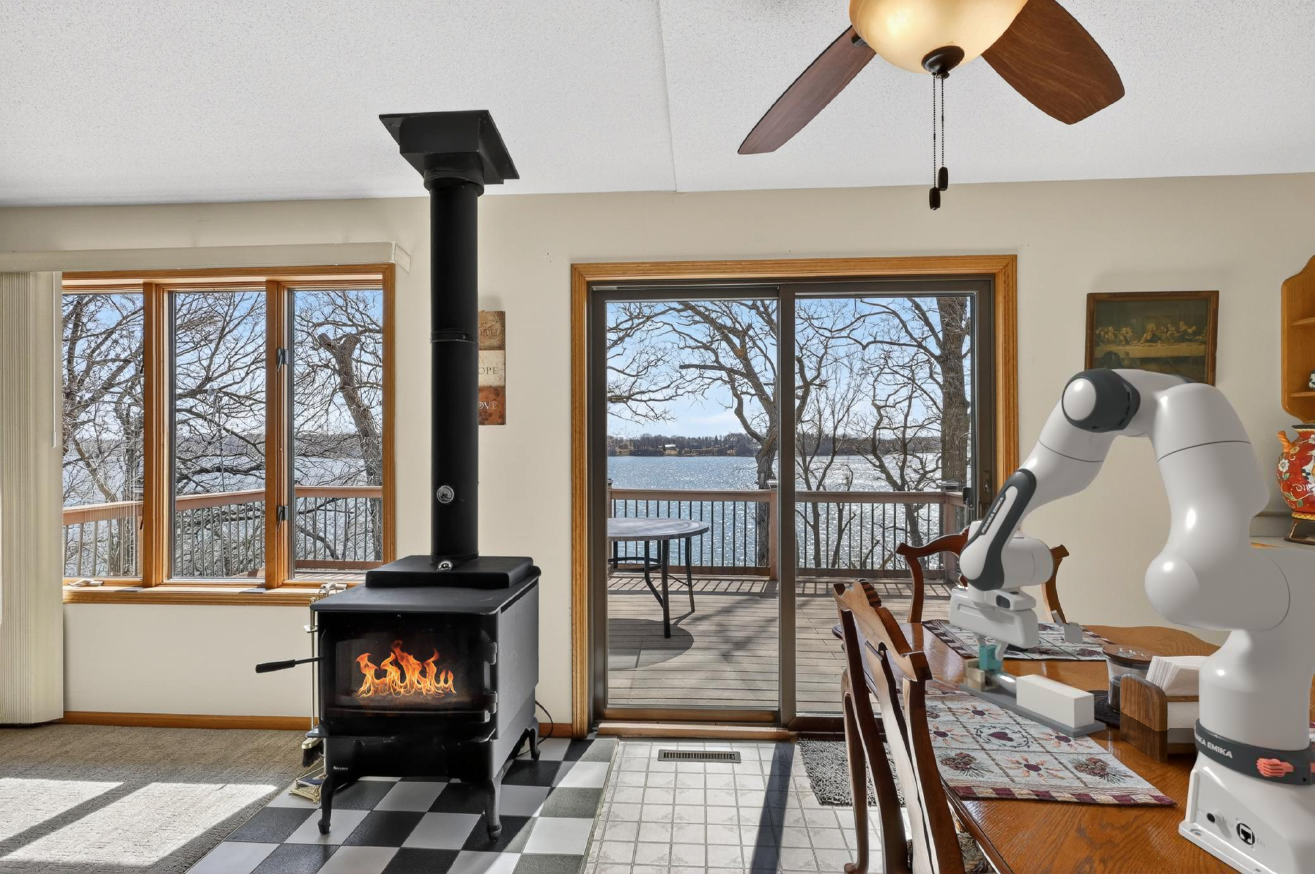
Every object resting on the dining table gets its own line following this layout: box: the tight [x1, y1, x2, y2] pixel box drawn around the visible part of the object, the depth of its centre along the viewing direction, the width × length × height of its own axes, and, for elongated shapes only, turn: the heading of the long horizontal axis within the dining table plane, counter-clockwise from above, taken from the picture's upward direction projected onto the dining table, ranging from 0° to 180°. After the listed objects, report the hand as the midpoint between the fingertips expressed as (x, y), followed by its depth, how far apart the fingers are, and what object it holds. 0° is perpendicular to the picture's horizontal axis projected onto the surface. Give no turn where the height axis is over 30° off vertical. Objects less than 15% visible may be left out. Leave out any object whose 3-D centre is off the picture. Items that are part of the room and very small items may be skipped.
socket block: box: [962, 657, 1005, 691], centre depth 143 cm, size 4×7×5 cm, turn 112°
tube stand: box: [957, 673, 1107, 738], centre depth 133 cm, size 26×9×6 cm, turn 22°
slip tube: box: [977, 643, 1018, 694], centre depth 136 cm, size 15×4×8 cm, turn 22°
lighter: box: [1050, 609, 1084, 644], centre depth 178 cm, size 7×2×8 cm, turn 63°
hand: (990, 657), depth 141 cm, fingers closed on slip tube, 2 cm apart
